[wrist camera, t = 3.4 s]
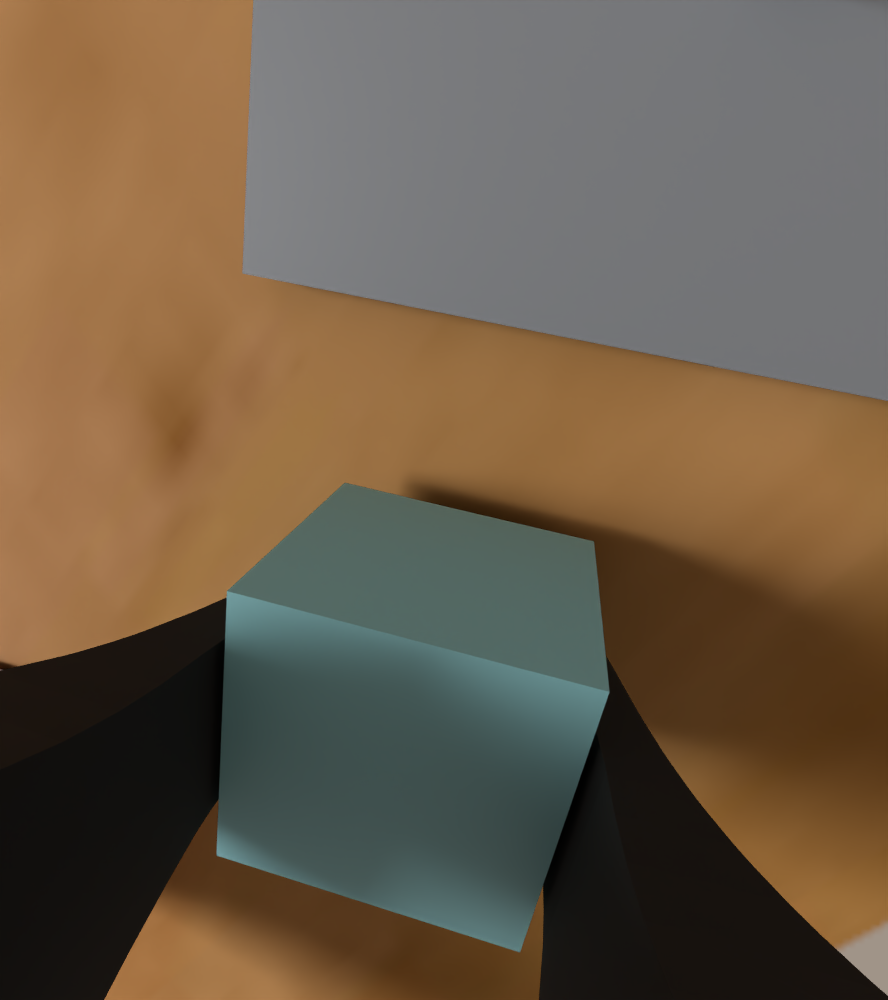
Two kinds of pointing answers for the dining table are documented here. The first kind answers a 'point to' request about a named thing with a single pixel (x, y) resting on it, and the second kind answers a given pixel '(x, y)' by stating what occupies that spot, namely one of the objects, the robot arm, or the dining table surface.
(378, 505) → the teal cube
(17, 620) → the dining table surface
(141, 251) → the dining table surface
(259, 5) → the pin board
